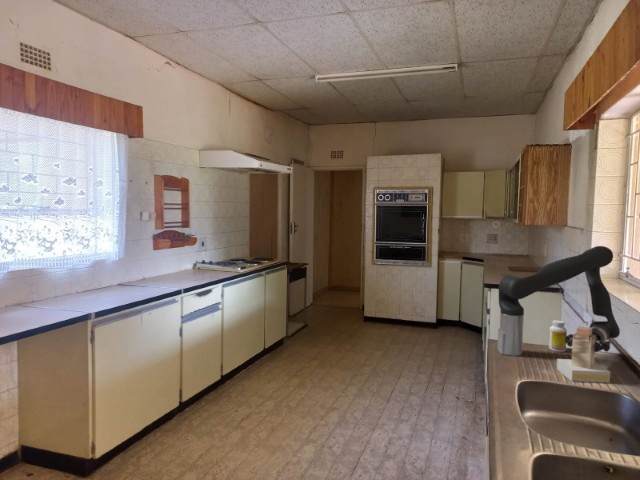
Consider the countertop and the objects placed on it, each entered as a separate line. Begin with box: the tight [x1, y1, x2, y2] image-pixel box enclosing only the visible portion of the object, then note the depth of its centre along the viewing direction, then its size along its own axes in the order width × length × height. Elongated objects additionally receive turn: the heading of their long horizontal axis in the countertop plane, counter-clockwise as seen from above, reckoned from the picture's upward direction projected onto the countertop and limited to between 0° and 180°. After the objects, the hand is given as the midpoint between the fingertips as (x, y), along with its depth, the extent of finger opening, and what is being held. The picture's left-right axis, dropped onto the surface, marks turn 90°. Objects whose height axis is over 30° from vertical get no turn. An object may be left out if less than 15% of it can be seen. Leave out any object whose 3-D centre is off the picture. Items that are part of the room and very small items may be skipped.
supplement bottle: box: [548, 319, 568, 353], centre depth 191 cm, size 7×7×13 cm
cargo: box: [576, 326, 592, 341], centre depth 161 cm, size 4×4×4 cm
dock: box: [556, 358, 611, 384], centre depth 161 cm, size 13×12×4 cm
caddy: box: [571, 331, 596, 369], centre depth 161 cm, size 6×6×12 cm
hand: (582, 346), depth 160 cm, fingers open, 8 cm apart
